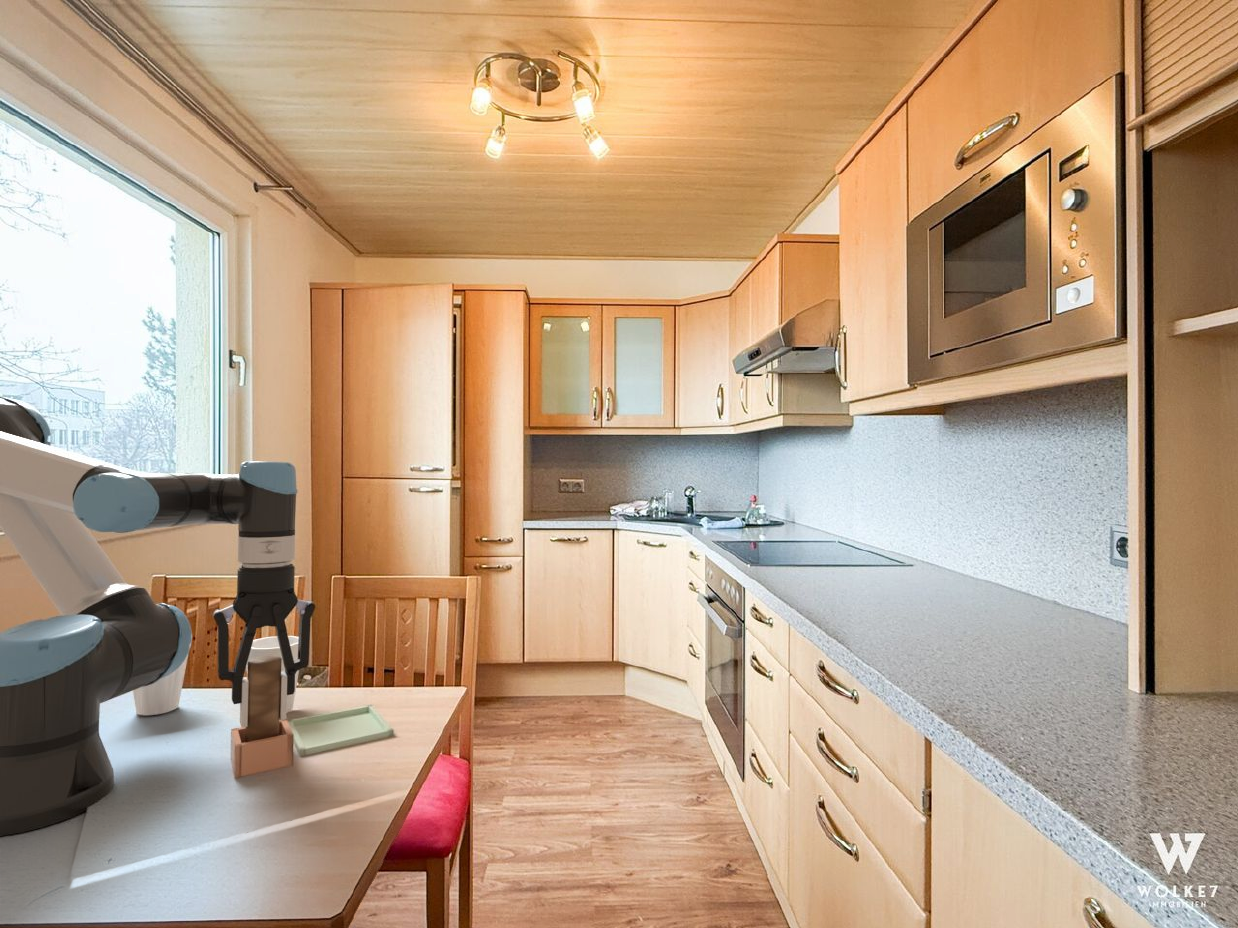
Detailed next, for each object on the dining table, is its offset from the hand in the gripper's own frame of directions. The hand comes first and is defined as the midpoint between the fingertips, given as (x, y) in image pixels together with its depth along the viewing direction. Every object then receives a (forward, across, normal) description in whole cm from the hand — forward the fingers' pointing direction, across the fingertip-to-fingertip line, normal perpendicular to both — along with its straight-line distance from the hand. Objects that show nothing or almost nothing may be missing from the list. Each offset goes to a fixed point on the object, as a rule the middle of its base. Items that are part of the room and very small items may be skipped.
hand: (263, 720), depth 94 cm
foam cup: (+7, +4, +22) cm, 23 cm away
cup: (+7, -13, +35) cm, 38 cm away
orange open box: (+7, 0, 0) cm, 7 cm away
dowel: (+6, 0, 0) cm, 6 cm away
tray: (+7, +12, +6) cm, 15 cm away
